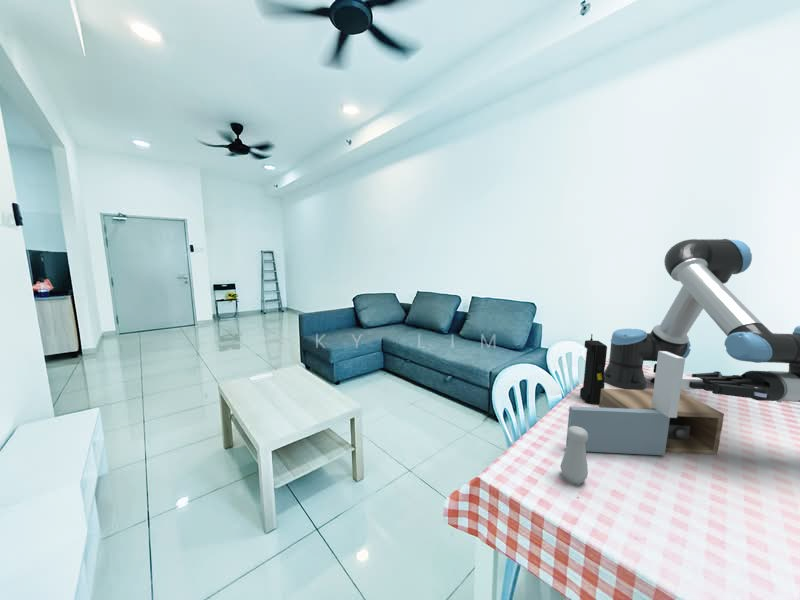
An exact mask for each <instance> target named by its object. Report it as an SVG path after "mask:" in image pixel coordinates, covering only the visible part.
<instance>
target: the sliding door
mask: <svg viewBox="0 0 800 600" xmlns="http://www.w3.org/2000/svg"><path fill="white" fill-rule="evenodd" d="M685 363H686V358H683V357H680V356H677V355H675V354H672V353H669V352H667V351H658V359H657V361H656V364H657V366H656V373H654V374H655V376H654V378H655V382H654V383H653V397H652V405H651V406H652V407H653V408H655V409H656V410H648V409H624V408H599V406H598V407H596V406H593V407H592V406H572V405H570V406H569V409H568V419H567V420H568V421H567V430H568V428H569V427H571V426H578V427H581V428H583V429H585V430H586V431H587V433H588V440H587V442H585V448H586V452H591V453H592V452H594V453H609V454H610V453H613V454H614V453H615V454H629V455H632V454H633V455H648V456H649V455H650V456H652V455H653V456H665V455H666V452H665V450H666V442H667V435H668V428H669V421H670V418H677V413H678V406H679V399H680V392H682V391H681V390H682V389H681V385H682V378H683V377H684V370H685ZM567 430H566V431H567ZM569 439H570V438H569V437H568V435H567V434H566V439H565V440H566V443H565V447H566V448H567V445H568V442H569Z"/></svg>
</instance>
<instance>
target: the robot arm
mask: <svg viewBox="0 0 800 600" xmlns="http://www.w3.org/2000/svg"><path fill="white" fill-rule="evenodd" d="M752 259H753V253H752V252H751V248H750V247H749V245H748V244H746V243H745V242H743V241H741V240H739V239H729V238H722V239H719V238H717V239H713V238H712V239H710V238H709V239H705V238H704V239H703V238H702V239H698V238H697V239H696V238H693V239H685V240H681V241H680V242H678V243H676V244H674V245H673V246H671V247H670V248H669V250H668V251H667V252H666V254H665V256H664V262H663V263H664V267H665V270H666V273H667V274H668V275H669V276H670V277H671V279H672V280H674V281H676V282H680V283H681V285H682V286H681V287H680V289H679V291H678V293H677V294H676V297H675V298H674V300H673V302H672V304H671V305H670V307H669V309H668V310H667V313H666V314H665V316H664V318H663V320H662V322H661V323H660V324H658V325H657V324H656V325H654V326H653V327H652V329H651V332H649V333H648V332H647V331H645V330H643V329H638V328H622V329H621V328H620V329H616V330H614V331H613V332H612V335H611V339H610V350H609V359H608V364H607V366H605V370H604V377H605V382H606V383H607V384H609V385H612V386H614V387H617V388H620V389H630V390H645V389H646V385H647V380H646V378H645V375H644V374H645V373H644V370H643V368H644V367H643V366H644V361H648V362H657V359H658V351H667V352H669V353H672V354H675V355H677V356H680V357H683V358H685V359H687V358H688V356H689V355H690V353H691V351H692V350H691V346H692V345H691V342H690V339H689V336H688V333H689V332H690V330H691V328H692V327H693V325H694V324H695V322H696V321H697V319H698V317H699V316H700V315H701V313H702V311H703V310H704V311H705V312H706V314H707V315H709V318H711V319H712V321H714V323H715V324H716V325H717V326H718V328H720V330H721V331H722V332H723V334H724V335H726V338H725V340H724V347H725V348H726V349H725V352H726V353H727V355H728V356H730V357H731V358H732V359H735V360H737V361H742V362H750V363H758V364H759V363H770V364H771V363H774V364H775V363H776V364H788V371H781V370H778V371H777V370H748V371H745V372H744V373H742V374H741V375H739V374H733V375H723V373H722V372H721V371H716V370H715V371H713V372H703V373H702V372H701V373H692V374H691V377H690V376H683V378H682V385H681V390H699V391H701V390H703V391H705V392H711V393H712V394H714V395H720V396H728V397H739V398H747V399H752V400H754V401H759V402H761V401H762V402H763V401H765V402H776V403H782V402H788V403H789V402H791V403H792V402H794V403H796V402H797V403H800V325H798V326H795V327H794V330H793V331H792V333H776V332H775V333H773V332H772V331H770V330H769V329H768V327H767V326H766V325H764V324H763V323H762V321H760V319H758V317H757V316H755V315H754V313H752V312H751V310H750V309H749V308H747V306H746V305H745V304H743V302H742V301H741V300H740V299H738V297H736V295H734V294H733V292H732V291H731V290H730V289H728V287H727V286H726V283H728V282H729V280H730V279H731V278H732V275H738V274H741V273H743V272H745V271H746V270H748V269H749V267H750V266H751V263H752Z"/></svg>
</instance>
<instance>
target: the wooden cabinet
mask: <svg viewBox="0 0 800 600" xmlns="http://www.w3.org/2000/svg"><path fill="white" fill-rule="evenodd" d="M652 397H653V390H651V389H641V390H632V389H625V388H604V389H603V388H601V395H600V404H598V407H599V408H624V409H648V410H656V409H655V408H653V407H652V406H651V405H652ZM724 416H725V413H723V412H721V411H719V410H717V409H715V408H713V407H711V406H710V405H708V404H706V403H704V402H701V401H700V400H698V399H696V398H694V397H692V396H690V395H688V394H686V393H685V392H682V391H681V392H680V399H679V406H678V413H677V418H670V421H669V428H668V435H667V442H666V450H665V453H674V454H675V453H676V454H694V455H695V454H697V455H698V454H699V455H713V456H714V455H716V456H717V455H719V447H720V442H721V435H722V429H723V424H724V418H725V417H724Z"/></svg>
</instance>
